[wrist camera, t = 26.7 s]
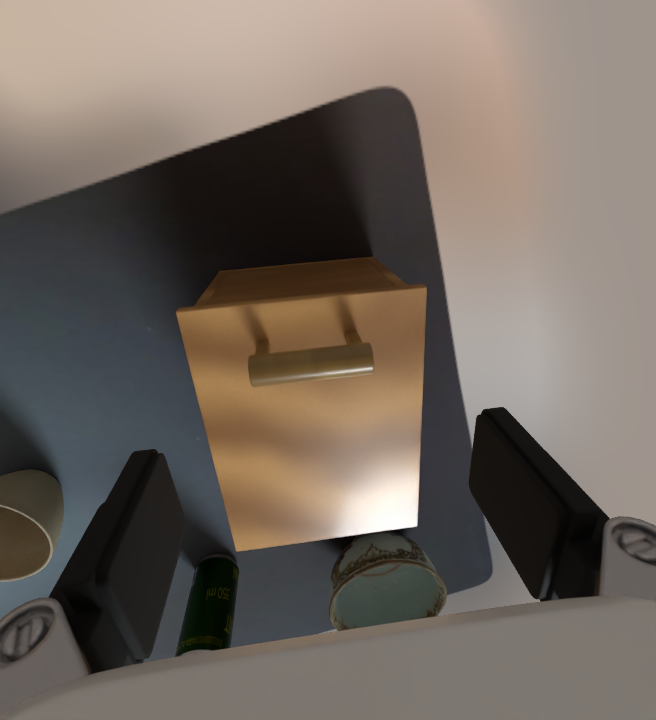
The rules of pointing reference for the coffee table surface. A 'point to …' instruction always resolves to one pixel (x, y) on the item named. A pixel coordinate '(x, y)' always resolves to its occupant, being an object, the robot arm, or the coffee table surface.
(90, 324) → the coffee table surface
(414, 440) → the lid
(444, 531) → the coffee table surface
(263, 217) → the coffee table surface
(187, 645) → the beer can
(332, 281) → the chest
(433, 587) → the bowl
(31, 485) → the flower pot
